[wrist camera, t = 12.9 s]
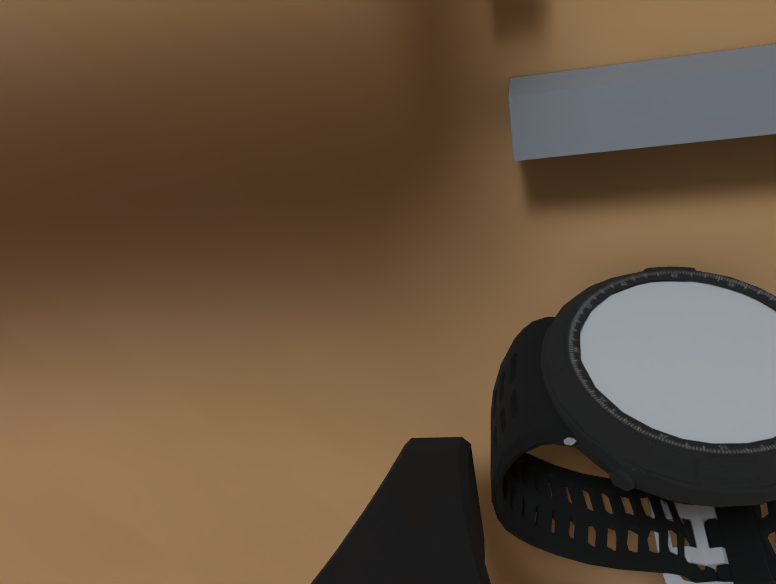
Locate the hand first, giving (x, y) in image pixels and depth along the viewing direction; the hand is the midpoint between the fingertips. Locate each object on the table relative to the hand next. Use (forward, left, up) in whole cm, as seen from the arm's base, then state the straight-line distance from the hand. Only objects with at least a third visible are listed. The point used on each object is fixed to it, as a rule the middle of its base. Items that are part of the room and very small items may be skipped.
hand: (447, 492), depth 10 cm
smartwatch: (0, 0, 0) cm, 1 cm away
